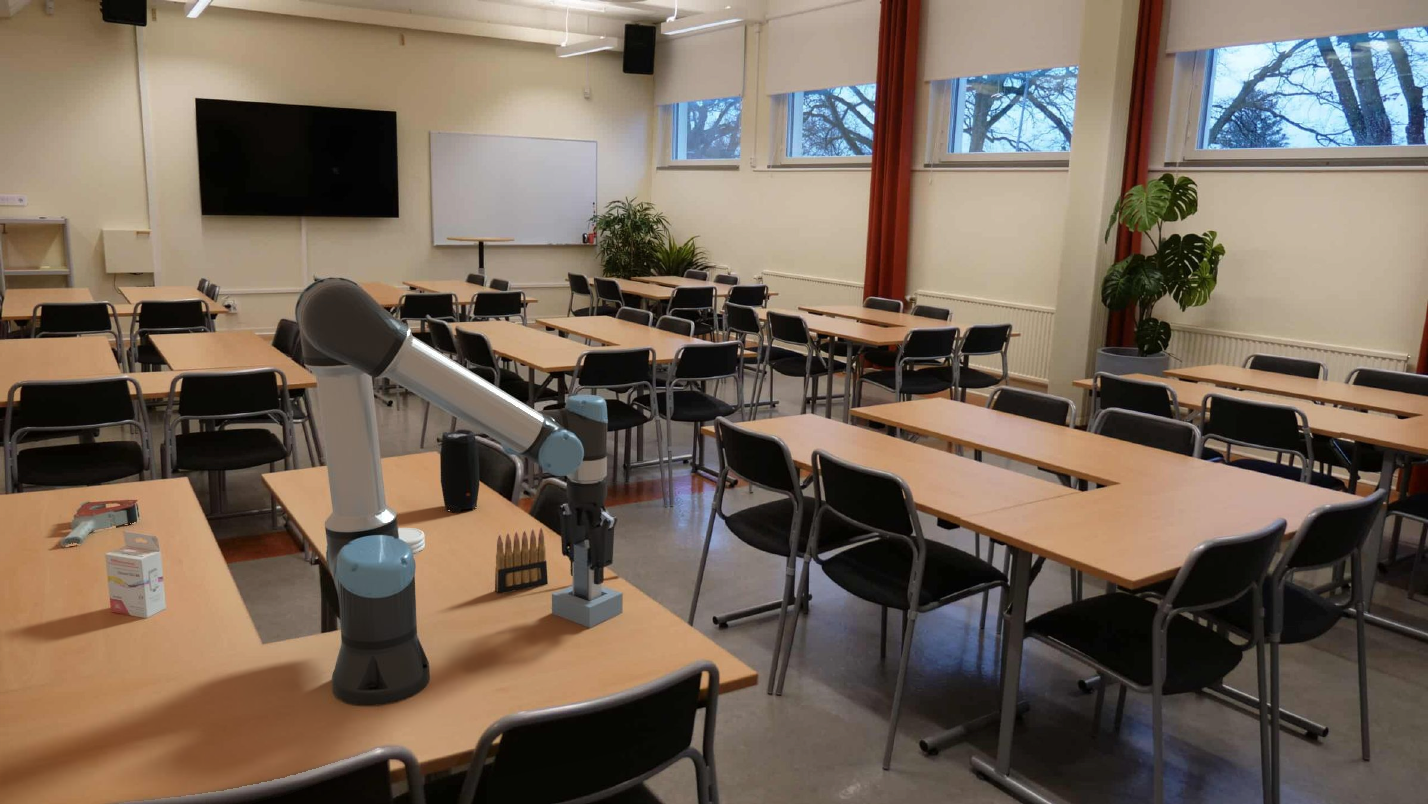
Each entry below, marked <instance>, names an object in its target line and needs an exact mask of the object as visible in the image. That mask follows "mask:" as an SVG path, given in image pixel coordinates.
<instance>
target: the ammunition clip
mask: <svg viewBox="0 0 1428 804" xmlns="http://www.w3.org/2000/svg"><path fill="white" fill-rule="evenodd" d="M535 532H536V531H535V529H531V532H530V538H529V540H528V535H527V532H526V530H524V531H523V532H522V536H521V544H520V536H519V534H518V532H517V531H516V532H515V534H514V537H513V547H512V540H511V535H510V534H509V533H507V534H506V537H505V546H504V542H503V539H502V536H501V535H500V534H498V537H497V541H496V553H495V573H494V574H495V576H494V577H495V579H494V580H495V581H494V591H495V593H497V594H506V593H510V592H517V591H520V590H525V589H530V588H535V587H541V586H545V585H548V584H549V583H548V582H549V581H548V578H549V577H548V565H547V560H546V559H547V558H546V556H547V555H546V545H545V544H546V543H545V534H544V533H545V532H544V530H543V528H542V527H541V528H540V529H539V533H538V539H537V536H536V533H535ZM537 541H538V542H537ZM504 547H505V548H504ZM512 548H513V549H512Z"/></svg>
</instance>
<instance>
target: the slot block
mask: <svg viewBox="0 0 1428 804" xmlns="http://www.w3.org/2000/svg"><path fill="white" fill-rule="evenodd" d="M623 595H624V594H623V592H621V591H618V590H615V589H612V588H608V587H606V586H603V585H601V597H599V598H596V599H594V600H592V601H587V600H584V599H581V598H578V597H575V596H574V595H573V584H572V585H569V586H566V588H562V589H560V590H558V591H556V592H553V593H551V614H552V615H554V616H557V617H561V618H563V619H566V620H569V621H570V622H574V623H576V624H579V625H582V626H584V627H586V628H589V629H590V628H592V627H594V626H597V625H599V624H601V623H603V622H606V621H607V620H610V619H612V618H614V617H616V616H618V615H620V614H622V613H624V611H623V605H624V603H623Z"/></svg>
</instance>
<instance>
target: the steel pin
mask: <svg viewBox="0 0 1428 804" xmlns="http://www.w3.org/2000/svg"><path fill="white" fill-rule="evenodd" d="M598 561H599V560H598ZM590 566H592V562H591V555H590V547H589V540H588V539H584V541H582V542H579V543H576V544H574V596H575V597H578V598H581V599H584V600H587V601H589V567H590Z"/></svg>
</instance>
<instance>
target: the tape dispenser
mask: <svg viewBox="0 0 1428 804" xmlns="http://www.w3.org/2000/svg"><path fill="white" fill-rule="evenodd" d="M137 502H138V499H122V500H104V501H103V500H101V501H92V502H91V501H84V502H83V501H82V502H81V503H80V507H79V508H77V509H76V513H75V514H73V519H72V520H71V522H70V526H71V527H70V528H71V531H70V532H69V533H68V534H67V535H66V536H64V537H62V538H61V540H60V545H61V546H66V545H68V544H71V543H72V544H73V543H77V544H81V545H83V543H84V540H85V539H86V537H88V535H89V534H90V531H95V530H99V529H105V528H110V527H112V526H121V525H122V526H123V524H130V523H131V524H132V523H134V522H137V520H138V518H141V516H140V512H139V505H138V503H137ZM111 504H114V505H115V504H116V506H109V507H107V505H111ZM137 523H138V522H137Z"/></svg>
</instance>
